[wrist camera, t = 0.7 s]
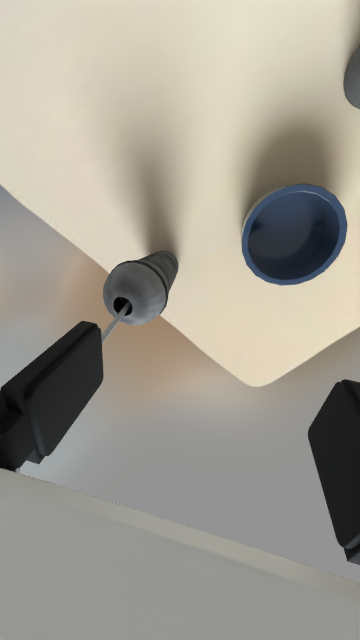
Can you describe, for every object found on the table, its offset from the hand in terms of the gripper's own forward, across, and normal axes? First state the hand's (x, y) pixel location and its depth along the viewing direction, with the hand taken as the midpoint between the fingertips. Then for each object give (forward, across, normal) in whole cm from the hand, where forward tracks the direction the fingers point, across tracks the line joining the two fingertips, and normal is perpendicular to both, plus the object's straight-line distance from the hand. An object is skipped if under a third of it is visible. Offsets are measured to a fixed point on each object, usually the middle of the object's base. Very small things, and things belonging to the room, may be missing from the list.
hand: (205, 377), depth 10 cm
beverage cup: (+28, +9, +5) cm, 30 cm away
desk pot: (+28, -6, -3) cm, 29 cm away
